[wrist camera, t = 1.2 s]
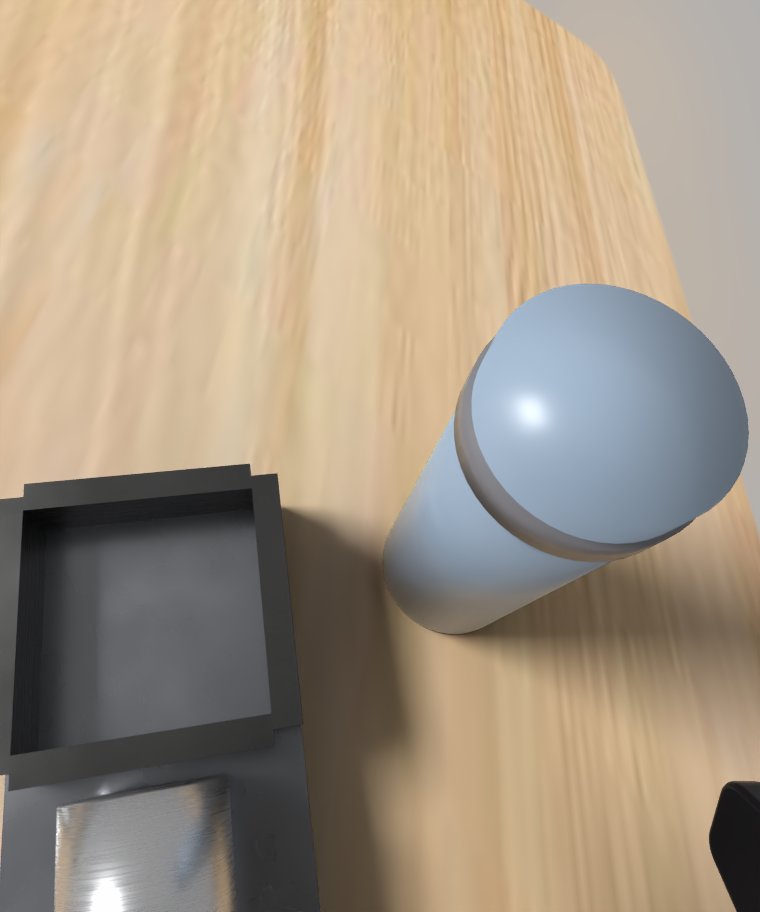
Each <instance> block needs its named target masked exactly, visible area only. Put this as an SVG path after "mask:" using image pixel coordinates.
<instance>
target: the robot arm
mask: <svg viewBox="0 0 760 912" xmlns="http://www.w3.org/2000/svg"><path fill="white" fill-rule="evenodd" d="M709 844H710V850H711V853H712V856H713V859H714V861H715V864H716V866H717V868H718V870H719V873H720V875H721V877H722V880H723V882H724V884H725V886H726V889H727V891H728V893H729V895H730V898H731V900H732V902H733V904H734V907H735V909H736V911H737V912H760V782H756V781H731V782H728V783H727V784H726V785H725V786H724V787H723V788H722V790H721V793H720V797H719V800H718V804H717V807H716V811H715V814H714V818H713V821H712V825H711V828H710V833H709Z"/></svg>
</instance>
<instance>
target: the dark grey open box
mask: <svg viewBox="0 0 760 912" xmlns="http://www.w3.org/2000/svg"><path fill="white" fill-rule="evenodd" d="M301 725H303V718H302V708H301V699H300V689H299V679H298V670H297V660H296V650H295V640H294V631H293V621H292V611H291V602H290V592H289V582H288V572H287V563H286V553H285V543H284V534H283V524H282V514H281V504H280V495H279V485H278V475H277V474H266V475H255V476H251V470H250V464H242V465H231V466H220V467H209V468H198V469H187V470H176V471H165V472H154V473H142V474H131V475H120V476H109V477H98V478H87V479H76V480H65V481H54V482H43V483H32V484H24V497H21V498H10V499H0V775H5V793H4V812H3V830H2V849H1V867H0V912H320V905H319V896H318V886H317V876H316V866H315V856H314V846H313V837H312V827H311V817H310V807H309V797H308V788H307V778H306V768H305V758H304V748H303V738H302V729H301Z"/></svg>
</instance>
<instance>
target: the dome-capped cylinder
mask: <svg viewBox="0 0 760 912" xmlns="http://www.w3.org/2000/svg"><path fill="white" fill-rule="evenodd" d="M748 435H749V431H748V417H747V413H746V408H745V403H744V400H743V397H742V394H741V391H740V388H739V386H738V383H737V381H736V379H735V377H734V375H733V373H732V371H731V369H730V368H729V366H728V364H727V363H726V361H725V359H724V358H723V356H722V355H721V354H720V353H719V351H718V350H717V349H716V348H715V346H714V345H713V344H712V343H711V341H709V339H708V338H707V337H706V336H705V335H704V334H703V333H702V332H701V331H700V330H699V329H697V328H696V327H695V326H694V325H693V324H692V323H691V322H690V321H688V320H687V319H686V318H684V317H683V316H682V315H680V314H679V313H677V312H676V311H675V310H673V309H671V308H669V307H668V306H666V305H664V304H663V303H661V302H659V301H657V300H654V299H652V298H650V297H648V296H646V295H643V294H640V293H637V292H635V291H632V290H628V289H624V288H620V287H616V286H610V285H602V284H576V285H567V286H563V287H558V288H554V289H551V290H548V291H546V292H543V293H540V294H538V295H537V296H535V297H533V298H531V299H529V300H528V301H526V302H525V303H524V304H522V305H521V306H520V307H518V308H517V309H516V310H515V311H514V312H513V313H512V314H511V315H510V316H509V317H508V318H507V319H506V321H505V322H504V324H503V325H502V327H501V328H500V330H499V331H498V333H497V335H496V336H495V337H494V338H493V339H492V340H491V341H490V342H489V343H488V344H487V346H486V347H485V348H484V350H483V351H482V353H481V354H480V356H479V357H478V359H477V361H476V363H475V365H474V367H473V369H472V371H471V372H470V374H469V376H468V378H467V380H466V382H465V384H464V386H463V388H462V390H461V393H460V395H459V398H458V402H457V405H456V410H455V412H454V414H453V416H452V418H451V419H450V421H449V423H448V425H447V427H446V429H445V431H444V432H443V434H442V436H441V438H440V440H439V442H438V443H437V445H436V447H435V449H434V451H433V453H432V455H431V456H430V458H429V460H428V462H427V464H426V466H425V467H424V469H423V471H422V473H421V475H420V477H419V479H418V480H417V482H416V484H415V486H414V488H413V490H412V491H411V493H410V495H409V497H408V499H407V501H406V503H405V504H404V506H403V508H402V510H401V512H400V514H399V515H398V517H397V519H396V521H395V523H394V525H393V527H392V528H391V530H390V532H389V534H388V537H387V539H386V542H385V545H384V551H383V573H384V577H385V581H386V584H387V587H388V590H389V592H390V594H391V596H392V597H393V599H394V601H395V602H396V603H397V605H398V606H399V607H400V608H401V610H402V611H403V612H404V613H405V614H406V615H407V616H409V617H410V618H411V619H412V620H414V621H415V622H417V623H418V624H420V625H422V626H424V627H426V628H428V629H430V630H433V631H436V632H441V633H446V634H463V633H468V632H473V631H475V630H478V629H481V628H483V627H485V626H486V625H488V624H490V623H492V622H494V621H496V620H498V619H500V618H502V617H504V616H506V615H508V614H510V613H512V612H514V611H516V610H518V609H519V608H521V607H523V606H525V605H527V604H529V603H531V602H533V601H535V600H537V599H539V598H541V597H543V596H545V595H547V594H549V593H551V592H553V591H554V590H556V589H558V588H560V587H562V586H564V585H566V584H568V583H570V582H572V581H574V580H576V579H578V578H580V577H582V576H584V575H586V574H587V573H589V572H591V571H593V570H595V569H597V568H599V567H601V566H603V565H605V564H607V563H609V562H611V561H614V560H618V559H623V558H627V557H629V556H632V555H635V554H637V553H640V552H642V551H644V550H646V549H648V548H650V547H652V546H654V545H656V544H658V543H660V542H662V541H664V540H666V539H668V538H669V537H671V536H673V535H675V534H677V533H678V532H680V531H681V530H683V529H684V528H685V527H686V526H688V525H689V524H690V523H691V522H692V521H693V520H694V519H695V518H696V517H698V516H700V515H702V514H703V513H705V512H707V511H709V510H710V509H711V508H712V507H714V506H715V505H716V504H717V503H719V502H720V501H721V500H722V499H723V498H724V497H725V495H726V494H727V493H728V492H729V491H730V490H731V488H732V487H733V485H734V483H735V482H736V480H737V479H738V477H739V475H740V472H741V469H742V467H743V465H744V462H745V457H746V453H747V448H748Z"/></svg>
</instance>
